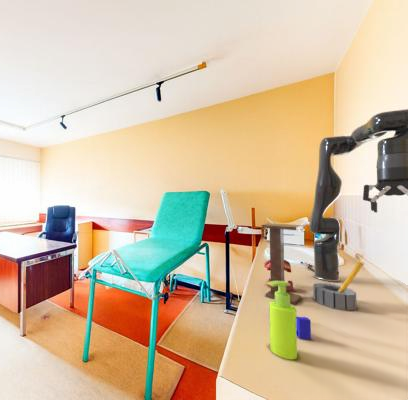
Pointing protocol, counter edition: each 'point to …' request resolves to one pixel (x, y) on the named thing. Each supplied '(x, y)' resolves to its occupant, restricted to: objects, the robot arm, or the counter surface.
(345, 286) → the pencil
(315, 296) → the grey segmented ring
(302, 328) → the cable clip
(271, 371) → the counter surface
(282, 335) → the soap dispenser
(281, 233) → the brown pedestal stand
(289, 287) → the anatomical model
